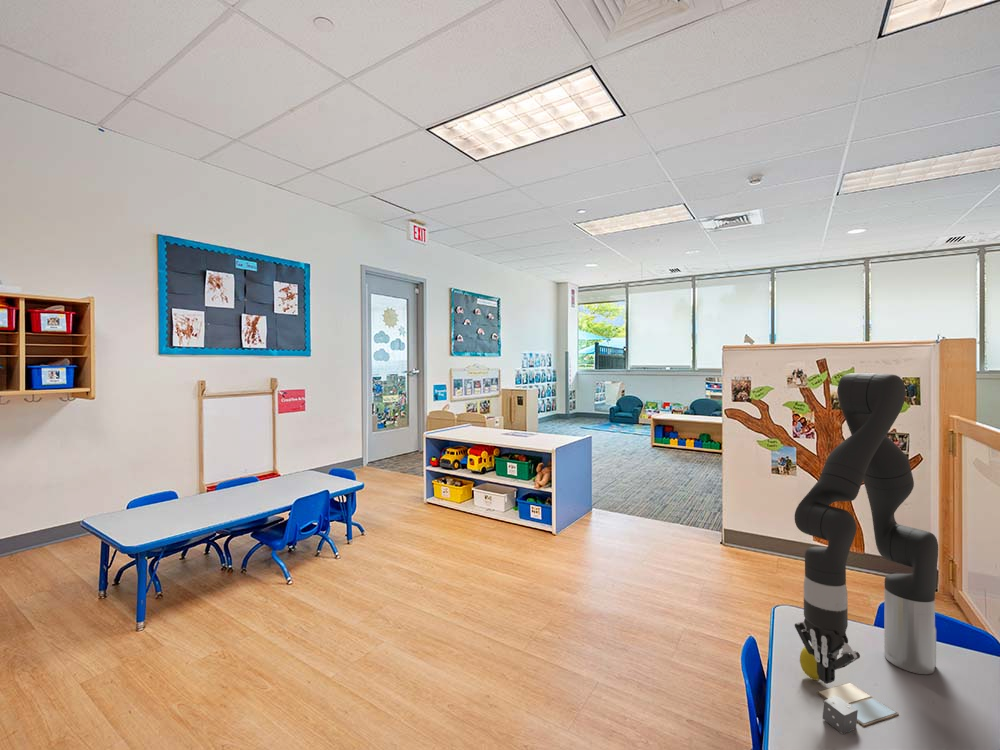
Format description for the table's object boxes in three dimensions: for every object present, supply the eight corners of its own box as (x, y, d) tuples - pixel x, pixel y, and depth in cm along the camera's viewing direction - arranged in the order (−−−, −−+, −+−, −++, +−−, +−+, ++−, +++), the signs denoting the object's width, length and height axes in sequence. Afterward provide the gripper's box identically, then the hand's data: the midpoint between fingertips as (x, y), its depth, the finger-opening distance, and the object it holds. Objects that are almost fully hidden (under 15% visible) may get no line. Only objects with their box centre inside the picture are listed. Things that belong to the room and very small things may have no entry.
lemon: (833, 689, 104) (833, 654, 103) (806, 686, 105) (806, 651, 105) (821, 673, 109) (821, 640, 109) (795, 670, 110) (795, 637, 110)
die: (837, 694, 96) (858, 709, 92) (835, 713, 96) (856, 729, 93) (823, 700, 94) (844, 715, 91) (822, 719, 95) (843, 735, 91)
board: (849, 683, 105) (849, 681, 105) (898, 715, 96) (898, 713, 96) (816, 693, 103) (816, 691, 103) (863, 726, 93) (863, 724, 93)
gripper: (871, 612, 91) (872, 698, 91) (809, 582, 104) (809, 657, 104) (843, 619, 89) (844, 707, 89) (783, 588, 101) (784, 665, 102)
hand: (825, 680), depth 97 cm, fingers closed
